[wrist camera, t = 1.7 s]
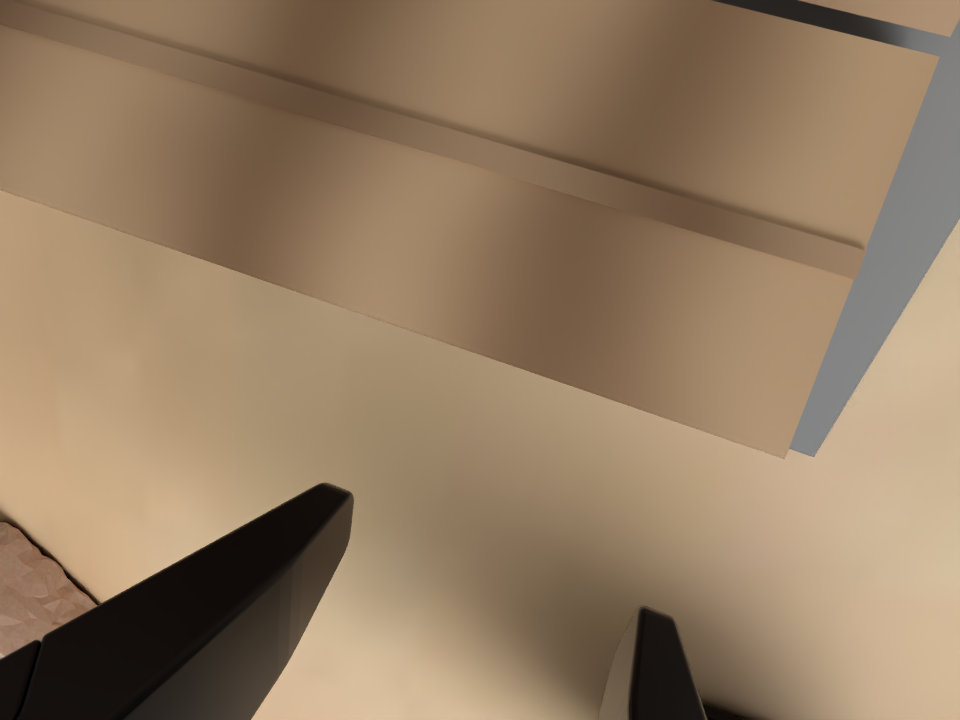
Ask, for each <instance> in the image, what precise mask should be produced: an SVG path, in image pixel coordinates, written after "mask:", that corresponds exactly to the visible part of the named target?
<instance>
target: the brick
mask: <svg viewBox="0 0 960 720" xmlns="http://www.w3.org/2000/svg"><path fill="white" fill-rule="evenodd" d="M96 606H97V605H96V604H95V603H94V602H93V601H92V600H91V599H90V598H89V596H88V595H86V594H85V593H83V592H82V591H80V590H79V589H78V588H77V587H76V586H75V585H74V584H73V583H72V582H71V581H70V580H69V579H68V578H67V577H66V576H65V573H64V571H63V569H62V568H61V567H60V566H59V565H58V564H57V563H56V562H55V561H54V560H52V559H50V558H48V557H46V556H43V555H42V554H41V553H40V551H39V549H38V548H36V547H35V546H33V545H32V544H31V543H30V542H29V541H28V539H27V538H26V537H25V536H24V535H23V534H22V533H21V532H20V531H19V529H17V528H15V527H13V526H11V525H9V524H7V523H4V522H0V659H1V658H3V657H4V656H6V655H8V654H10V653H12V652H13V651H15V650H17V649H19V648H21V647H23V646H24V645H26V644H28V643H30V642H32V641H33V640H40V641H41V640H42V638H43V636H44V635H45V634H47V633H49V632H50V631H52V630H54V629H56V628H58V627H59V626H61V625H63V624H65V623H67V622H69V621H70V620H72V619H74V618H76V617H78V616H79V615H81V614H83V613H85V612H87V611H89V610H90V609H92V608H94V607H96Z"/></svg>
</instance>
